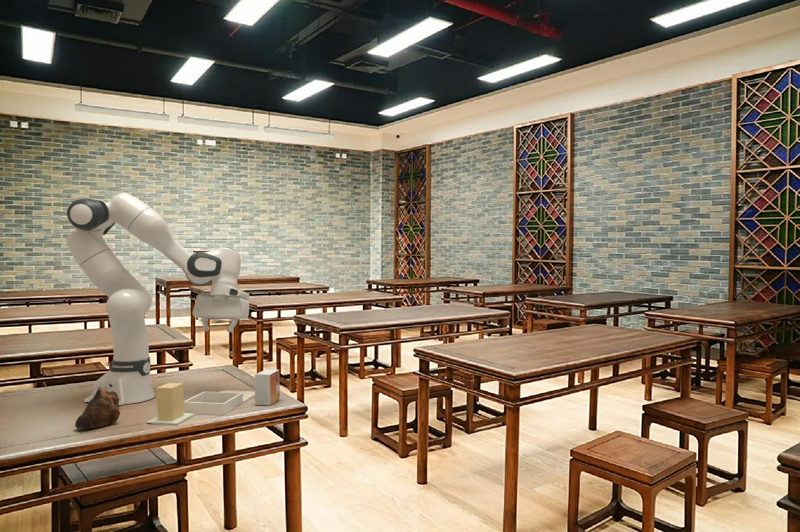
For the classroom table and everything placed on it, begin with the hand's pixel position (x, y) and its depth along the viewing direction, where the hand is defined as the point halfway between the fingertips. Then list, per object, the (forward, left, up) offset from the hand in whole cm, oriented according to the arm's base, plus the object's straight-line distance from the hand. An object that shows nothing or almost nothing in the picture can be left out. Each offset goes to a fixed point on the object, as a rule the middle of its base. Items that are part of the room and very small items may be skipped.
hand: (217, 331), depth 189 cm
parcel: (-3, -24, -23) cm, 33 cm away
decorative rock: (-21, -33, -24) cm, 46 cm away
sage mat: (-3, -24, -24) cm, 34 cm away
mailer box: (+4, -4, -24) cm, 24 cm away
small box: (+19, -2, -24) cm, 31 cm away
